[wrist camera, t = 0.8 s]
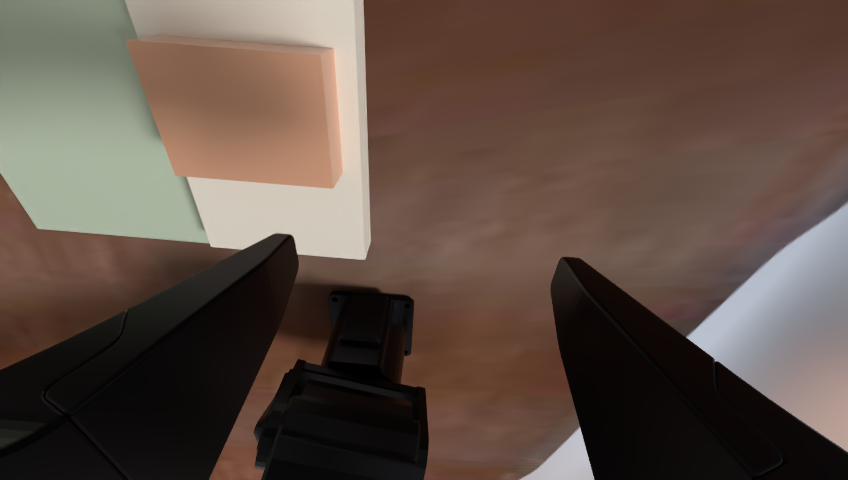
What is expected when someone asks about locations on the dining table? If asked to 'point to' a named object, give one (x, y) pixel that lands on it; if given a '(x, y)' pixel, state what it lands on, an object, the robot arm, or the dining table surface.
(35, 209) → the mat
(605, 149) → the dining table surface
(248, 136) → the tile
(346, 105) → the deck
